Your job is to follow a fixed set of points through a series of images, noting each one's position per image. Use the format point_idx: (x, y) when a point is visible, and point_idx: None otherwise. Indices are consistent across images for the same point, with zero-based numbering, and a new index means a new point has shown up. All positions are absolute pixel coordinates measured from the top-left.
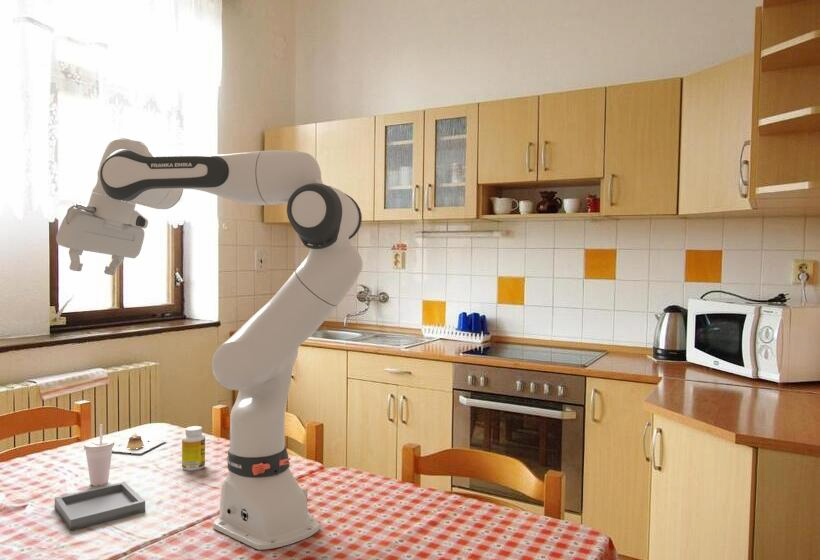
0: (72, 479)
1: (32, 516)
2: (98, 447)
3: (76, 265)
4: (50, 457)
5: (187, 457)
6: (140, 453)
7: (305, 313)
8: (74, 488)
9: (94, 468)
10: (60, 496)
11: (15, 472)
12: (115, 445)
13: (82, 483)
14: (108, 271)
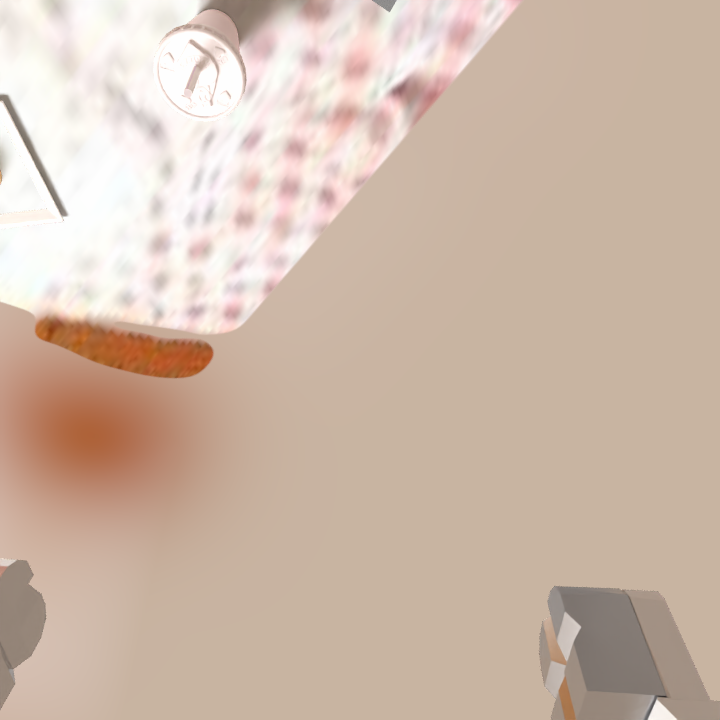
0: (233, 126)
1: (442, 14)
2: (227, 45)
3: (687, 661)
4: (166, 288)
5: None
6: (2, 101)
7: None
8: (273, 68)
9: (236, 40)
10: (378, 3)
11: (264, 275)
12: (15, 220)
13: None
14: (7, 611)
